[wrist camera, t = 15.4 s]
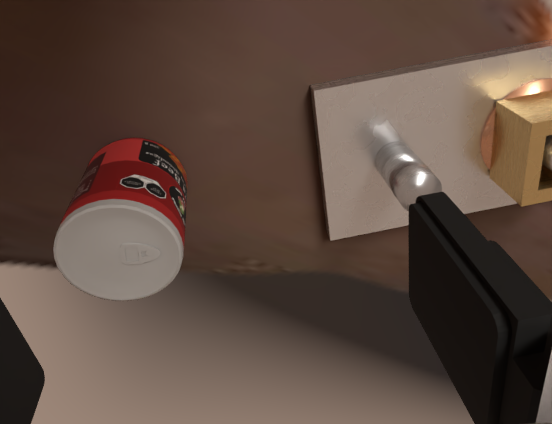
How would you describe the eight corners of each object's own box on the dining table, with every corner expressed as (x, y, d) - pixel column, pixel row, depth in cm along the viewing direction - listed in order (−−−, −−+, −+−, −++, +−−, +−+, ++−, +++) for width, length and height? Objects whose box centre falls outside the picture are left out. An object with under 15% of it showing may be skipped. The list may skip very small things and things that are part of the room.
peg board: (310, 85, 38) (331, 118, 32) (605, 29, 39) (684, 50, 32) (326, 231, 45) (347, 282, 39) (574, 182, 46) (634, 224, 40)
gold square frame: (496, 101, 39) (532, 123, 35) (580, 84, 39) (626, 104, 35) (489, 177, 43) (521, 206, 38) (566, 162, 43) (606, 189, 38)
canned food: (199, 203, 42) (198, 284, 33) (110, 227, 42) (84, 315, 33) (169, 122, 38) (158, 188, 29) (71, 149, 38) (28, 223, 29)
